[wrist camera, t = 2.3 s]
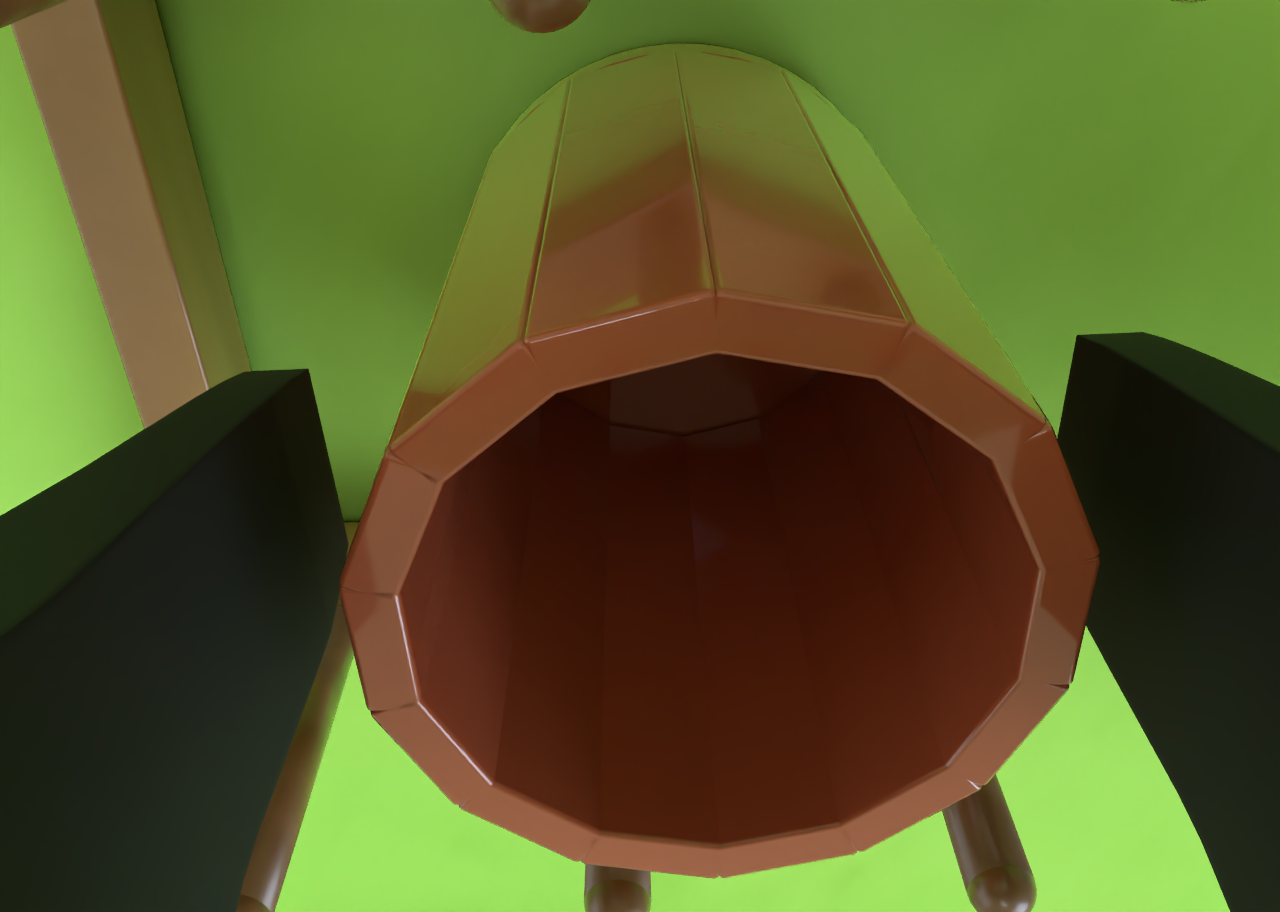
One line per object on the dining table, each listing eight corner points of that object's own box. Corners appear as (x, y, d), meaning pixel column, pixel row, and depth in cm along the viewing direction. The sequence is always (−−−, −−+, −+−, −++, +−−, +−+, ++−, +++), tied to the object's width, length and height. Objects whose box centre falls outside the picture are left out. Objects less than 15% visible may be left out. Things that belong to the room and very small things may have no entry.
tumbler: (904, 26, 13) (1170, 270, 7) (871, 432, 16) (1032, 870, 10) (443, 47, 13) (266, 310, 7) (496, 447, 16) (408, 891, 10)
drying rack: (1131, -199, 12) (1614, -168, 6) (1005, 546, 17) (1198, 941, 11) (27, -145, 12) (-532, -66, 6) (242, 576, 17) (50, 980, 11)
